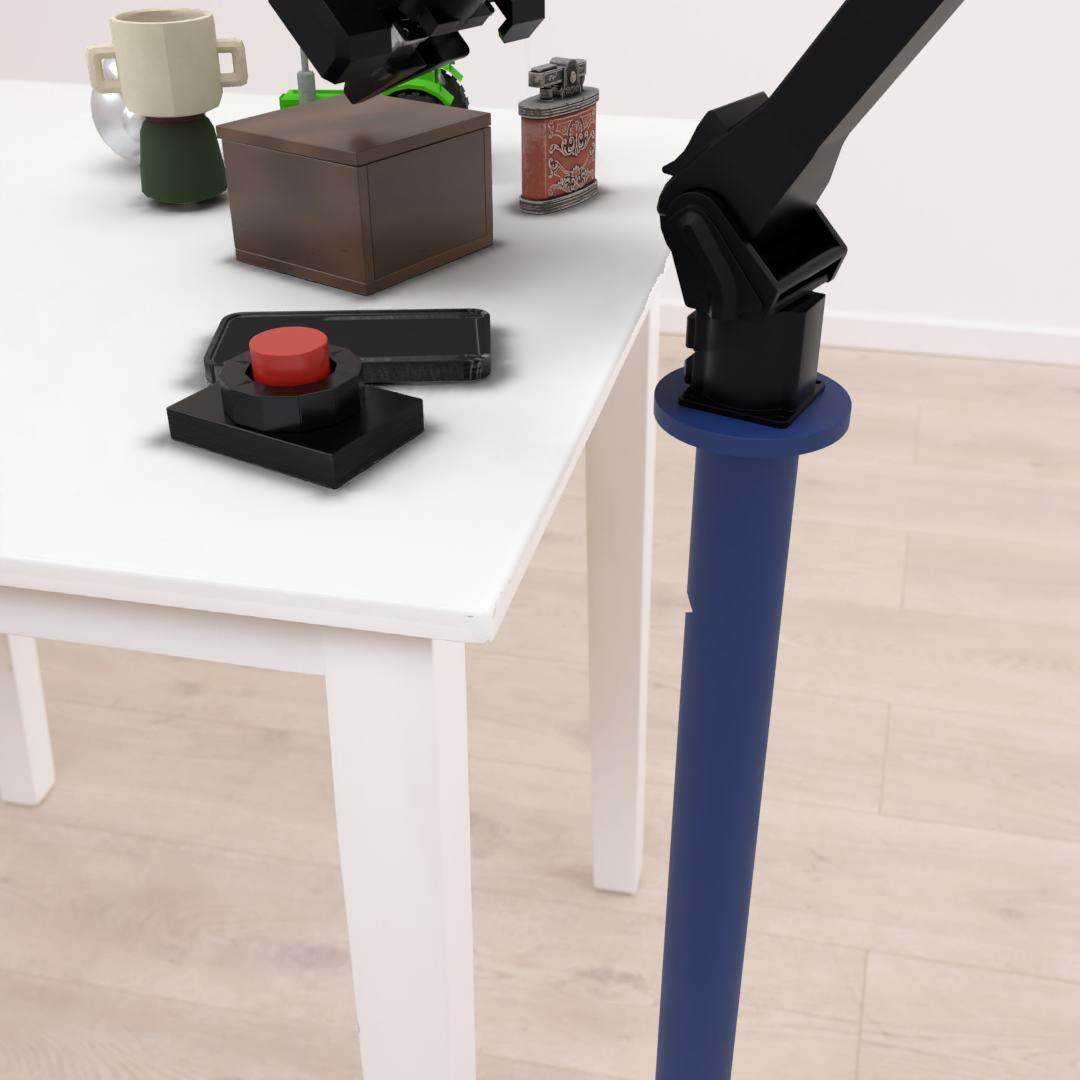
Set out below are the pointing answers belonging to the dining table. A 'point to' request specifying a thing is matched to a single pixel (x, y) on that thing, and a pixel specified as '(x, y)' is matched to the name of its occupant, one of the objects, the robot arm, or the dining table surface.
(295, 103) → the toy tractor
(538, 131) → the lighter
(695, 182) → the robot arm
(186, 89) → the cream and green trophy
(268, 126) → the lid
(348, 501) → the dining table surface
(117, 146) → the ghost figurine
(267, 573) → the dining table surface
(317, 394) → the button base
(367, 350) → the phone
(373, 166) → the chest
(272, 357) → the button
